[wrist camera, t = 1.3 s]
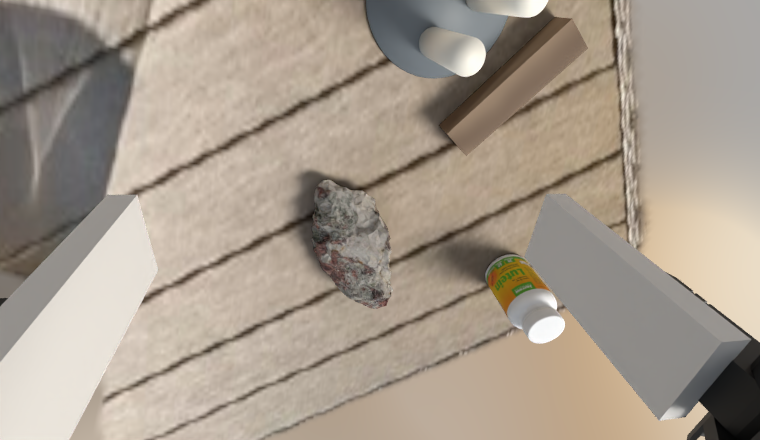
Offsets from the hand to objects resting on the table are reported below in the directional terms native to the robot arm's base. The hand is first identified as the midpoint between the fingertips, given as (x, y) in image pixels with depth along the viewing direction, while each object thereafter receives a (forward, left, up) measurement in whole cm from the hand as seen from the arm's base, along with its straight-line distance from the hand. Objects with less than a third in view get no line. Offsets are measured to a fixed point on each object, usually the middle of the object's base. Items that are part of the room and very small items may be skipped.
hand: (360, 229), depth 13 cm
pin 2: (+4, +14, -23) cm, 27 cm away
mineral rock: (+12, -10, -23) cm, 28 cm away
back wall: (+11, +11, -23) cm, 28 cm away
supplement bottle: (+30, -1, -23) cm, 38 cm away
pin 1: (+4, +9, -23) cm, 25 cm away
